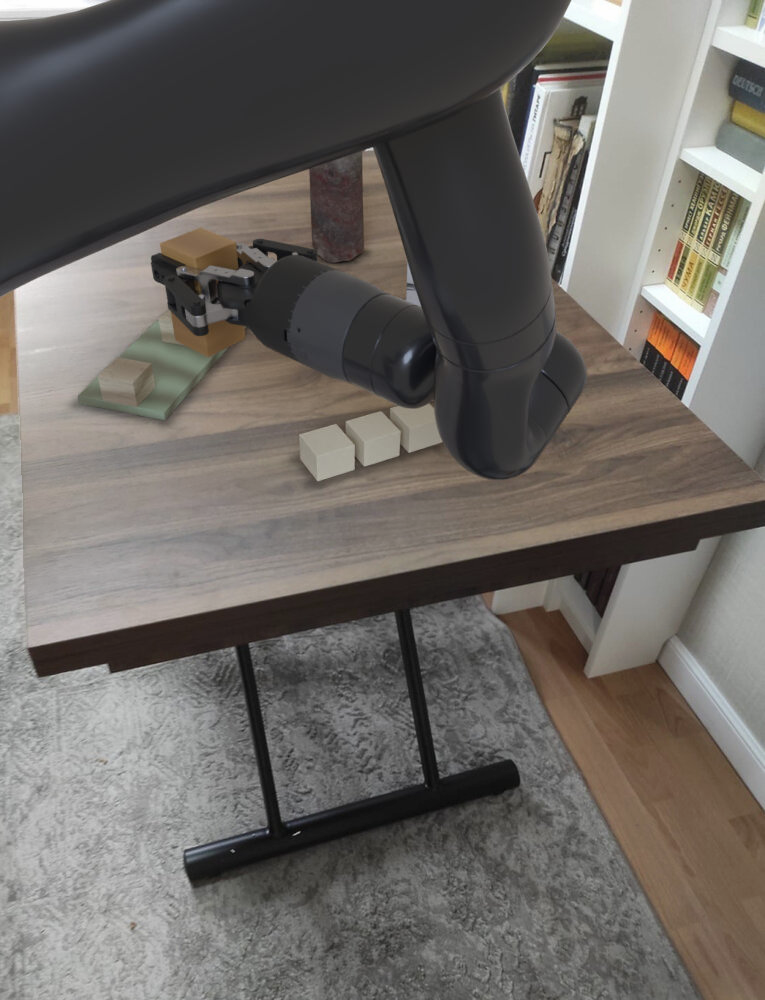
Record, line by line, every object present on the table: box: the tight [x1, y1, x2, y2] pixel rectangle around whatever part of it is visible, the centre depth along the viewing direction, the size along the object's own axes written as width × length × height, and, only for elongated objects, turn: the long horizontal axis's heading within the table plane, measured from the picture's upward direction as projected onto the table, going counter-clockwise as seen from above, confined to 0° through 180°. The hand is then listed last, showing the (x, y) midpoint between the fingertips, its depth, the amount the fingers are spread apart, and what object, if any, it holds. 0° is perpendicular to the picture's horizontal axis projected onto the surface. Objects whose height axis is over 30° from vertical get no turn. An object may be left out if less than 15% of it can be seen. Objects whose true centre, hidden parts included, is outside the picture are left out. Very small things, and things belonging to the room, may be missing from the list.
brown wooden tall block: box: [159, 227, 246, 357], centre depth 71 cm, size 4×4×9 cm
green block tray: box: [77, 308, 247, 421], centre depth 95 cm, size 26×10×4 cm, turn 164°
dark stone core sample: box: [308, 151, 365, 264], centre depth 113 cm, size 8×7×20 cm
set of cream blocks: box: [298, 403, 443, 482], centre depth 82 cm, size 14×4×3 cm, turn 119°
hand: (179, 256), depth 71 cm, fingers closed on brown wooden tall block, 4 cm apart
